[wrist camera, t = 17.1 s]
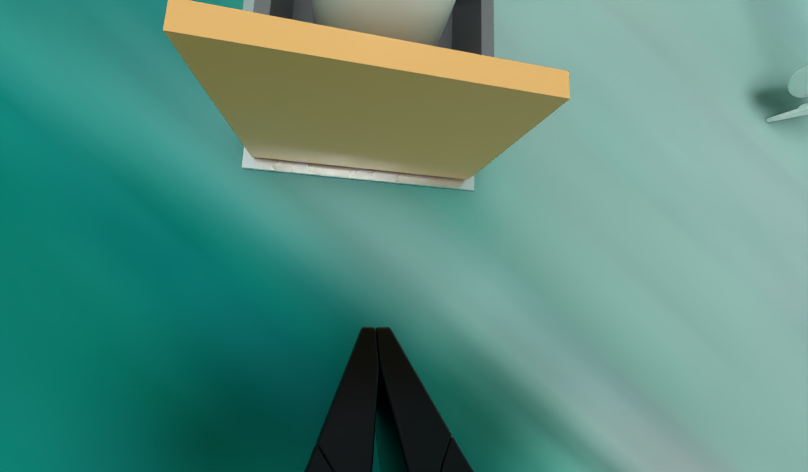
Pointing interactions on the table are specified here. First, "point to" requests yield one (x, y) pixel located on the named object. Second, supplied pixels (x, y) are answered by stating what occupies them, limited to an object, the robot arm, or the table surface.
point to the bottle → (387, 17)
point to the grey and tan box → (363, 87)
